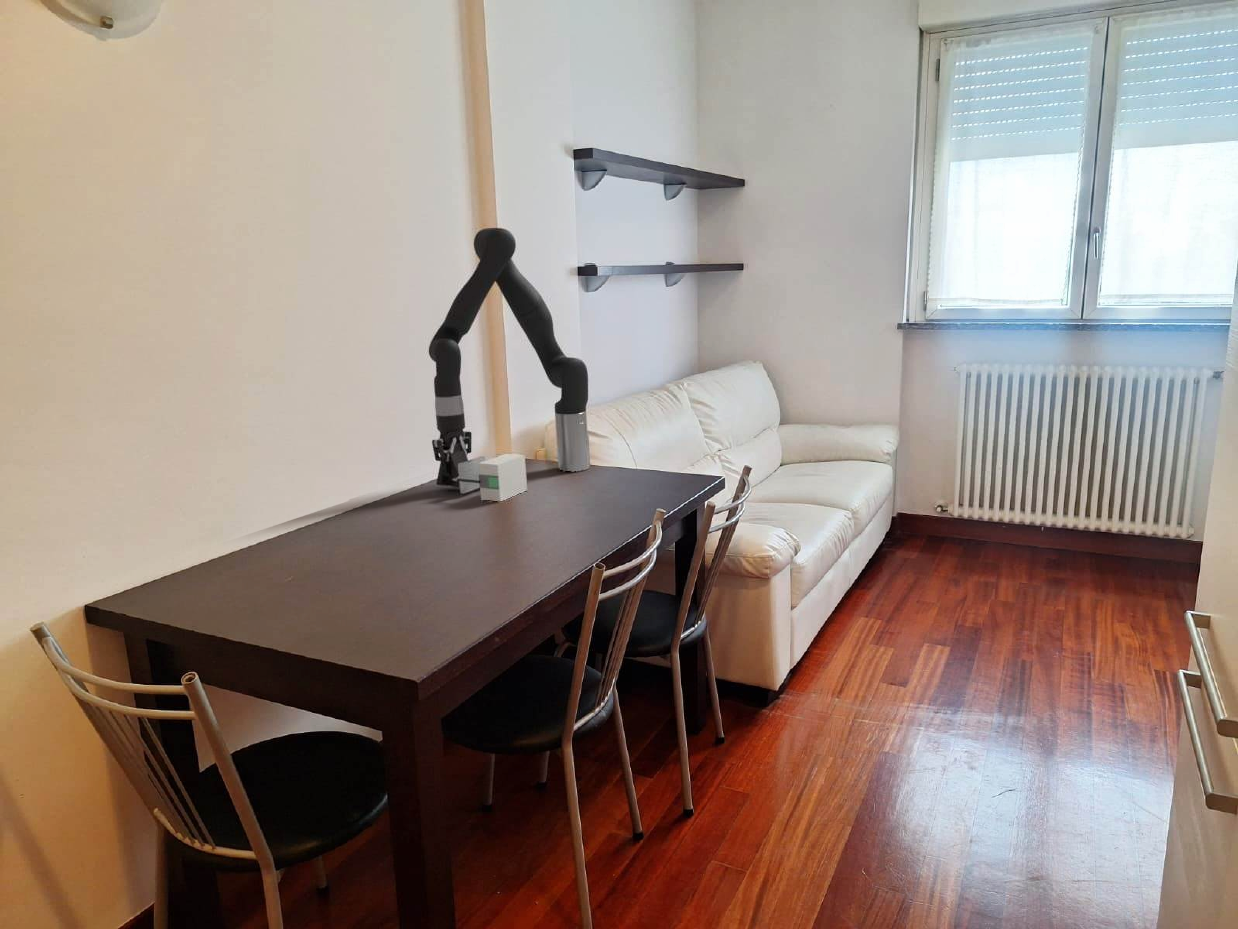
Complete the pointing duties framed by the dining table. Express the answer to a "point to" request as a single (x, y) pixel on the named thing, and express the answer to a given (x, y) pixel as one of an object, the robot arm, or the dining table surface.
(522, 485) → the box
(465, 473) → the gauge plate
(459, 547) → the dining table surface
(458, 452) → the phone stand
